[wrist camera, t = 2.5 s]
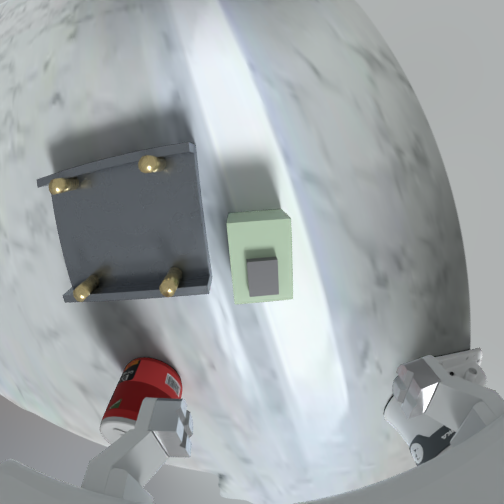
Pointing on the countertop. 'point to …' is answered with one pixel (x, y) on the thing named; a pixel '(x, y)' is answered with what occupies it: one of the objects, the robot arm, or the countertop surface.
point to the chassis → (133, 226)
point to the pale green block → (260, 255)
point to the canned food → (138, 394)
